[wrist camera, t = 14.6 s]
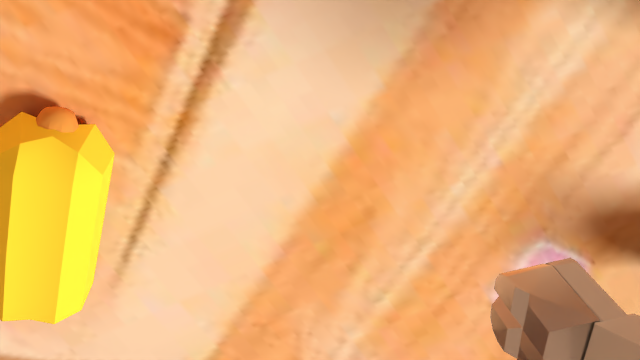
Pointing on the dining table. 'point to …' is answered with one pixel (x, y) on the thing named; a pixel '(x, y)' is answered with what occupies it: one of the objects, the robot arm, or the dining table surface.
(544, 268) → the robot arm
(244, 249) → the dining table surface
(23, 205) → the yellow faceted rounded part
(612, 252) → the dining table surface
